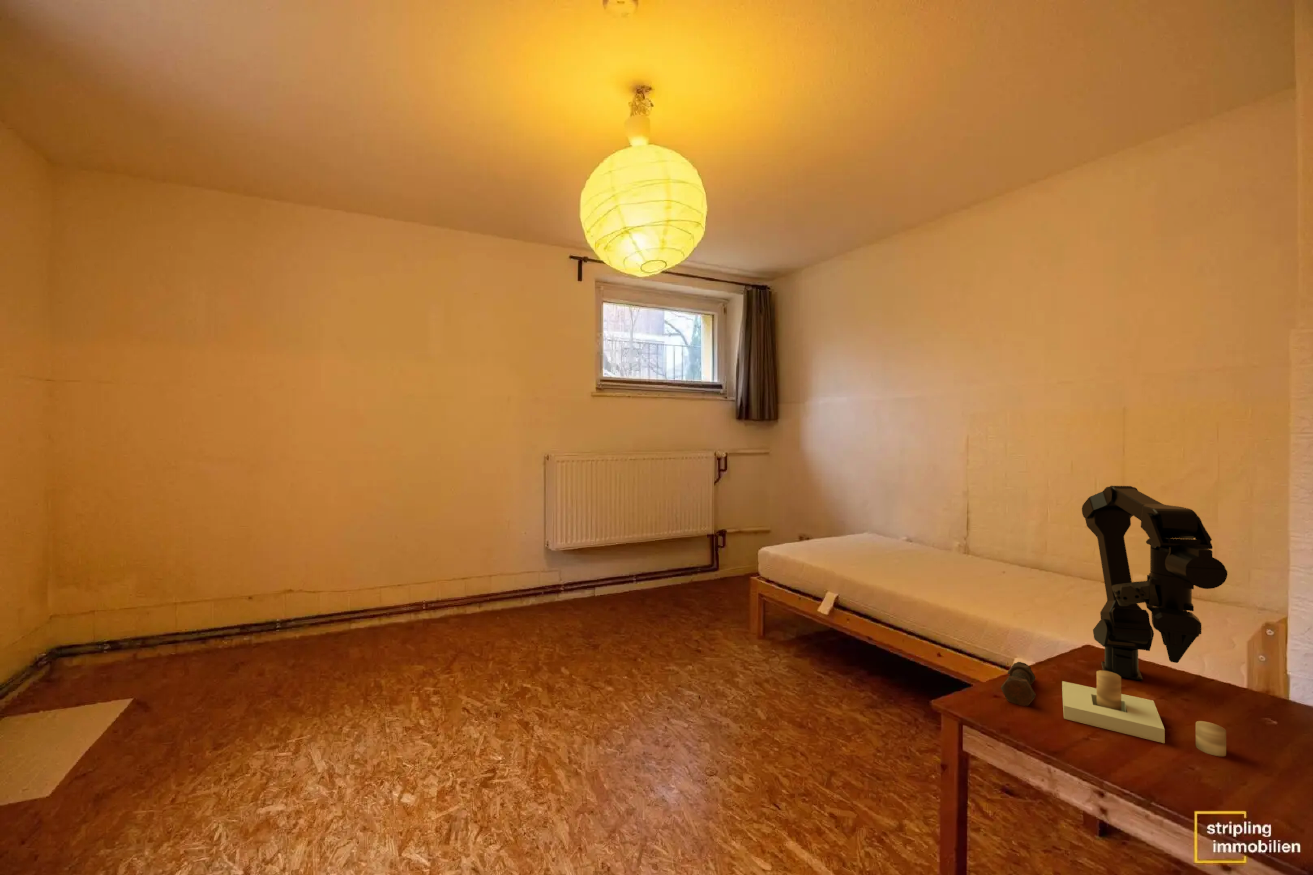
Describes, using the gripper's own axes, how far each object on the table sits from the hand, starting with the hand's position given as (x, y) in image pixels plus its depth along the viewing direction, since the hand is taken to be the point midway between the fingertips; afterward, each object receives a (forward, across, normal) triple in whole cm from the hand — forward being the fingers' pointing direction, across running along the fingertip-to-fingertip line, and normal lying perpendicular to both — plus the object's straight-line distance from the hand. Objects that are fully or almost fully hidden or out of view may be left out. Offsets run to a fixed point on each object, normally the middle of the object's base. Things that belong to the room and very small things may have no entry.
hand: (1170, 653), depth 101 cm
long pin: (+12, +8, -9) cm, 17 cm away
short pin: (+12, +12, +4) cm, 17 cm away
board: (+12, +8, -9) cm, 17 cm away
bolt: (+12, +6, -23) cm, 27 cm away
